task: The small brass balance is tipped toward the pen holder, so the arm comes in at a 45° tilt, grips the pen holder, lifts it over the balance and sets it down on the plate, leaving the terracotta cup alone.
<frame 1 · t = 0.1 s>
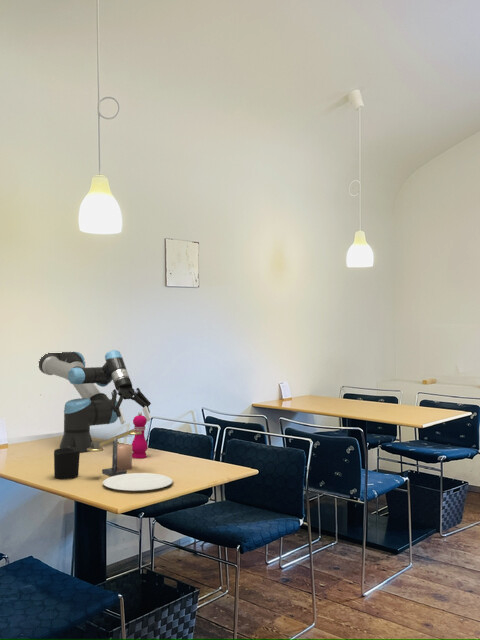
hand: (136, 421, 265), 15 cm above the table, tool tilted 35°, fingers open, 13 cm apart
pepper mill: (139, 457, 262), on the table
balance: (114, 474, 230), on the table
pen holder: (66, 477, 225), on the table
plate: (137, 486, 215), on the table
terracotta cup: (122, 468, 241), on the table
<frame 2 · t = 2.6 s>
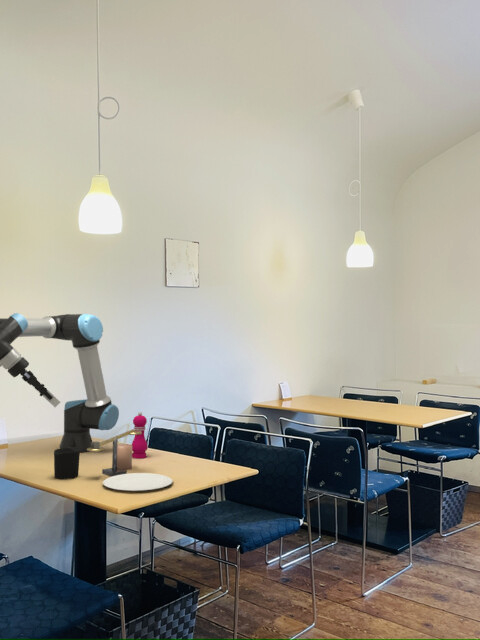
hand: (55, 402, 225), 28 cm above the table, tool tilted 45°, fingers open, 13 cm apart
nothing on the table moved.
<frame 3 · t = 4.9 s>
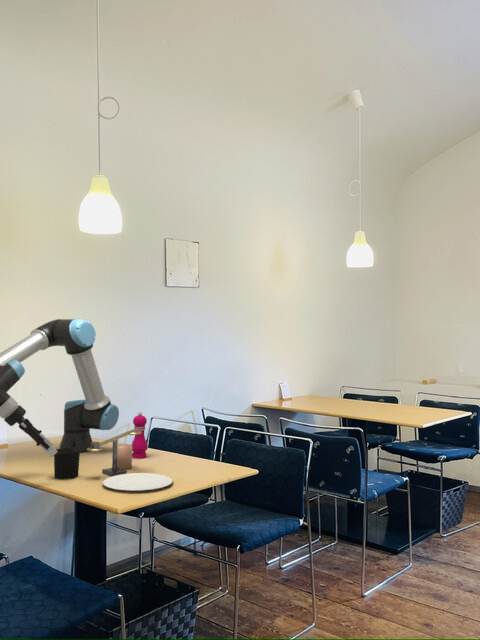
hand: (52, 450, 223), 10 cm above the table, tool tilted 45°, fingers open, 13 cm apart
nothing on the table moved.
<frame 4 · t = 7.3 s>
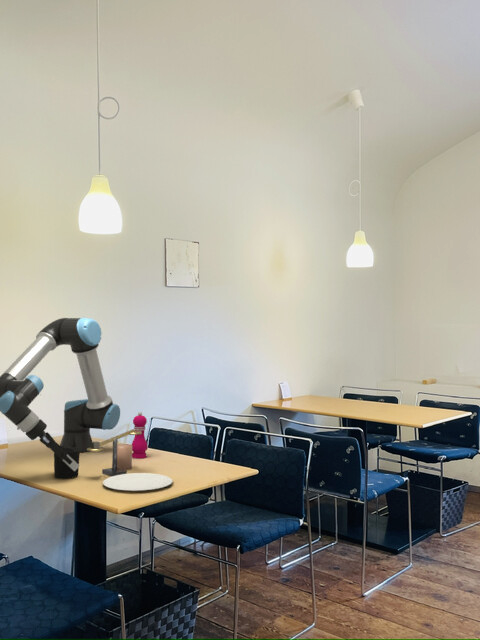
hand: (75, 465, 226), 4 cm above the table, tool tilted 45°, fingers closed on pen holder, 9 cm apart
pen holder: (66, 477, 225), on the table, touching gripper
everything else where it was.
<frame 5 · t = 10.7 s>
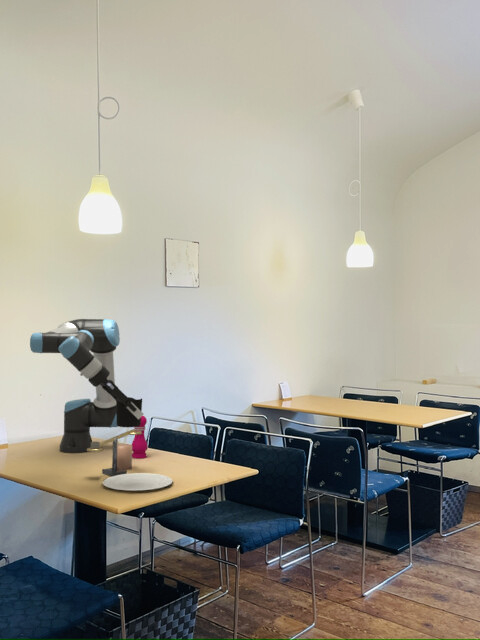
hand: (137, 414, 220), 25 cm above the table, tool tilted 45°, fingers closed on pen holder, 9 cm apart
pen holder: (128, 426, 219), point 20 cm above the table, touching gripper
everything else where it was.
when the fingers open (7 cm above the table, at t = 14.3 s): pen holder drops 2 cm, resting on plate.
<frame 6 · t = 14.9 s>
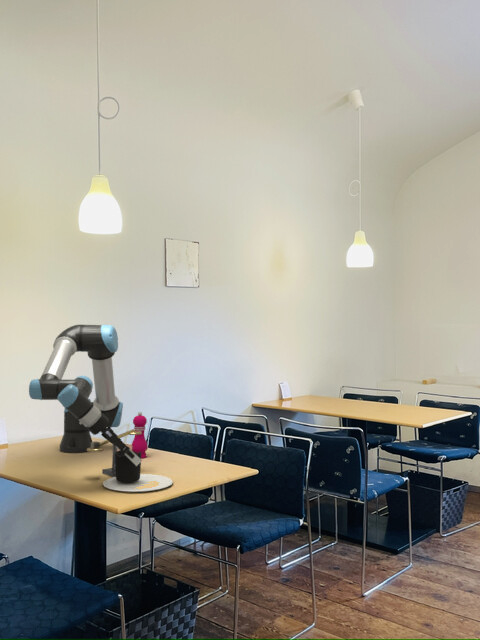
hand: (134, 459, 219), 8 cm above the table, tool tilted 45°, fingers open, 13 cm apart
pen holder: (127, 480, 218), point 1 cm above the table, touching plate
plate: (138, 487, 215), on the table, touching pen holder
everything else where it was.
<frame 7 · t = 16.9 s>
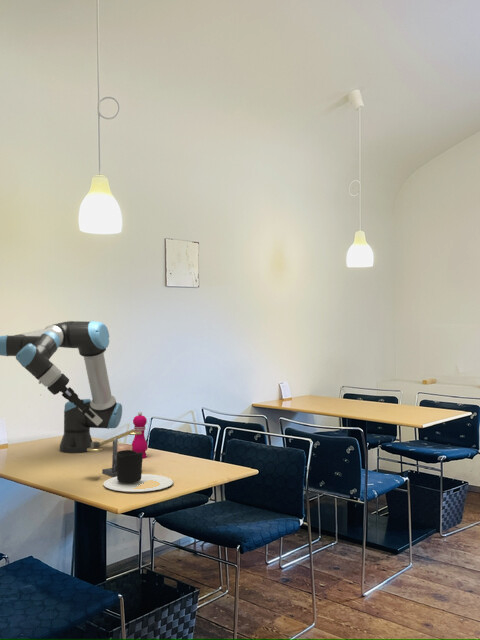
hand: (96, 420, 217), 23 cm above the table, tool tilted 45°, fingers open, 13 cm apart
nothing on the table moved.
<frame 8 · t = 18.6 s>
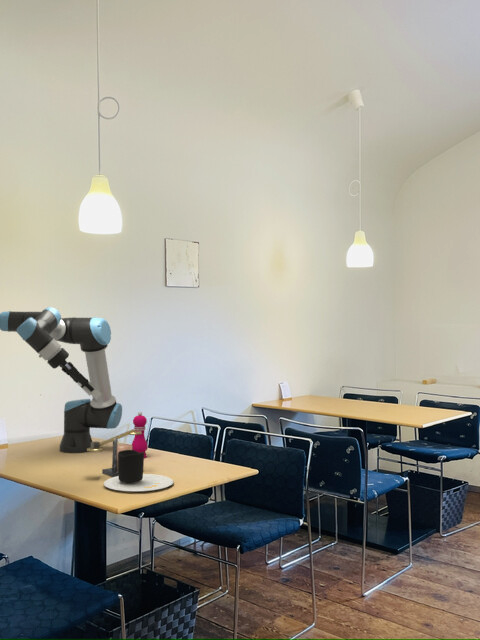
hand: (95, 395, 219), 32 cm above the table, tool tilted 45°, fingers open, 13 cm apart
at the end: pen holder inside the target area on the plate (4.1 cm from its centre), point 1.7 cm above the plate's base; pen holder tilted 0°; the gripper is holding nothing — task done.
